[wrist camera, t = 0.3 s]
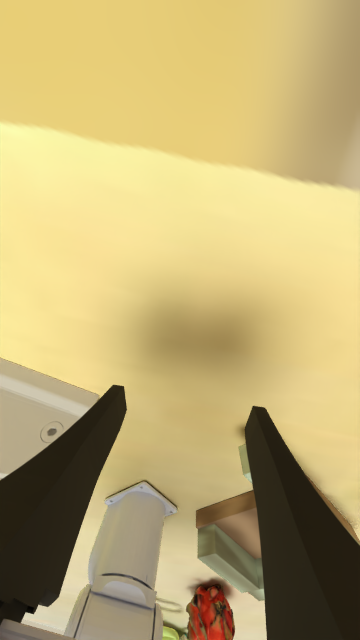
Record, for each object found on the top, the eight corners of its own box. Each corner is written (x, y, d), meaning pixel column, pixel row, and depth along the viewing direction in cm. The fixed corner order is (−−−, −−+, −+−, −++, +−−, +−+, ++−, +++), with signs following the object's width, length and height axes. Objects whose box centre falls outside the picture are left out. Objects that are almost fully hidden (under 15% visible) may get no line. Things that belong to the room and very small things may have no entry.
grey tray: (246, 554, 35) (253, 601, 30) (196, 510, 32) (195, 556, 27) (352, 527, 29) (380, 581, 25) (303, 472, 26) (324, 521, 22)
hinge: (102, 396, 26) (45, 497, 18) (100, 410, 29) (51, 502, 21) (-25, 348, 25) (-138, 432, 17) (-12, 368, 28) (-104, 447, 21)
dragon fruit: (196, 587, 45) (214, 552, 42) (229, 636, 40) (252, 600, 37) (171, 634, 38) (191, 596, 35) (208, 699, 33) (234, 661, 31)
